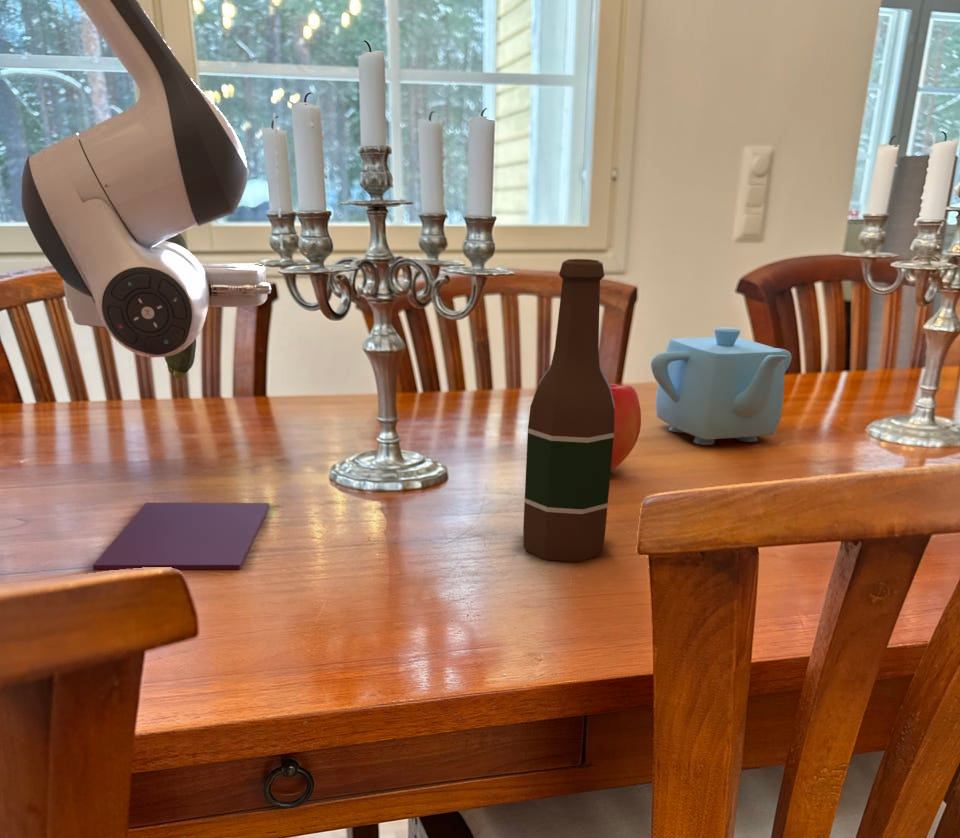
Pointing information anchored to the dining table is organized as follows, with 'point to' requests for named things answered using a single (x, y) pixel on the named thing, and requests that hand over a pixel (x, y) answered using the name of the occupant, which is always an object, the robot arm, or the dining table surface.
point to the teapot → (720, 386)
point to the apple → (625, 422)
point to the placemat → (186, 536)
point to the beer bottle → (571, 430)
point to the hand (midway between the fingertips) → (172, 276)
